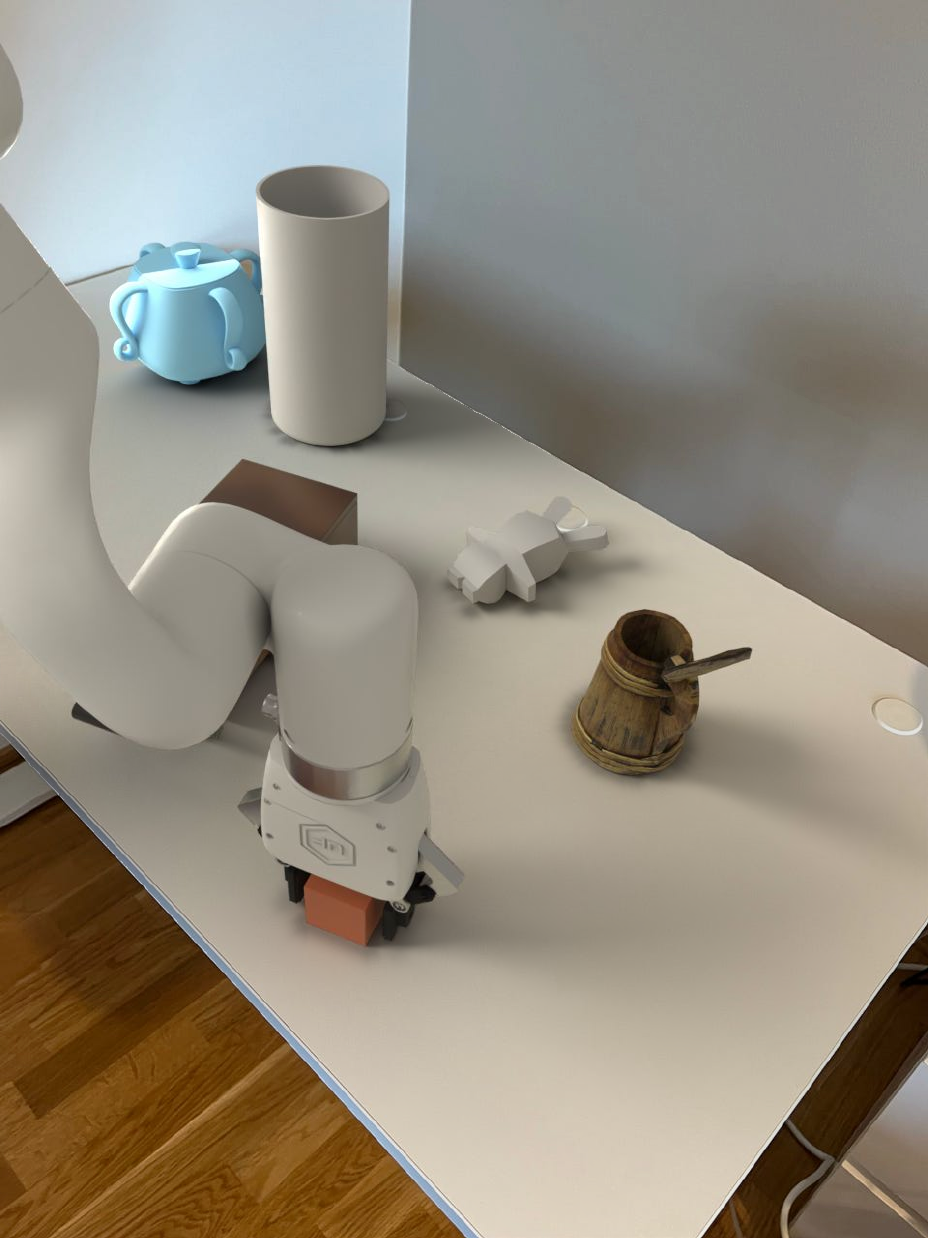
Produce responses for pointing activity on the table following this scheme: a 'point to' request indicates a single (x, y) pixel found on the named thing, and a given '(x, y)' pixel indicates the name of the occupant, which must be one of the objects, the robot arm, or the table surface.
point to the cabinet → (291, 502)
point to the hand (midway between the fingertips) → (349, 903)
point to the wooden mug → (643, 693)
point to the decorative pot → (190, 311)
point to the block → (341, 909)
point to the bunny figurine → (520, 553)
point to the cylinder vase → (325, 300)
